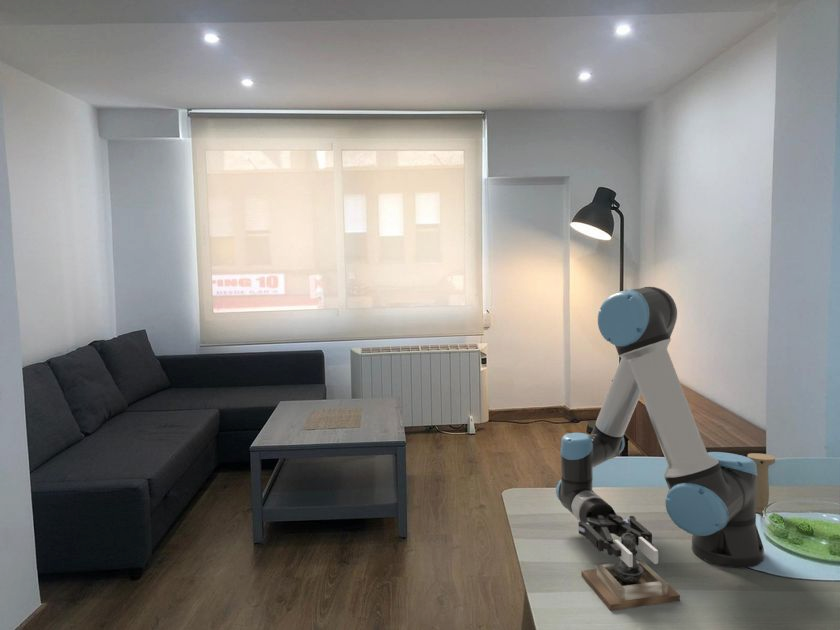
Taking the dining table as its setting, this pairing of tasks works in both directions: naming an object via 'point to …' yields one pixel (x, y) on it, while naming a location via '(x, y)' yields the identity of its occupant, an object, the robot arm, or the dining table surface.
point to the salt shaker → (622, 570)
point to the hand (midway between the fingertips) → (643, 558)
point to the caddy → (629, 588)
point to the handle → (762, 479)
